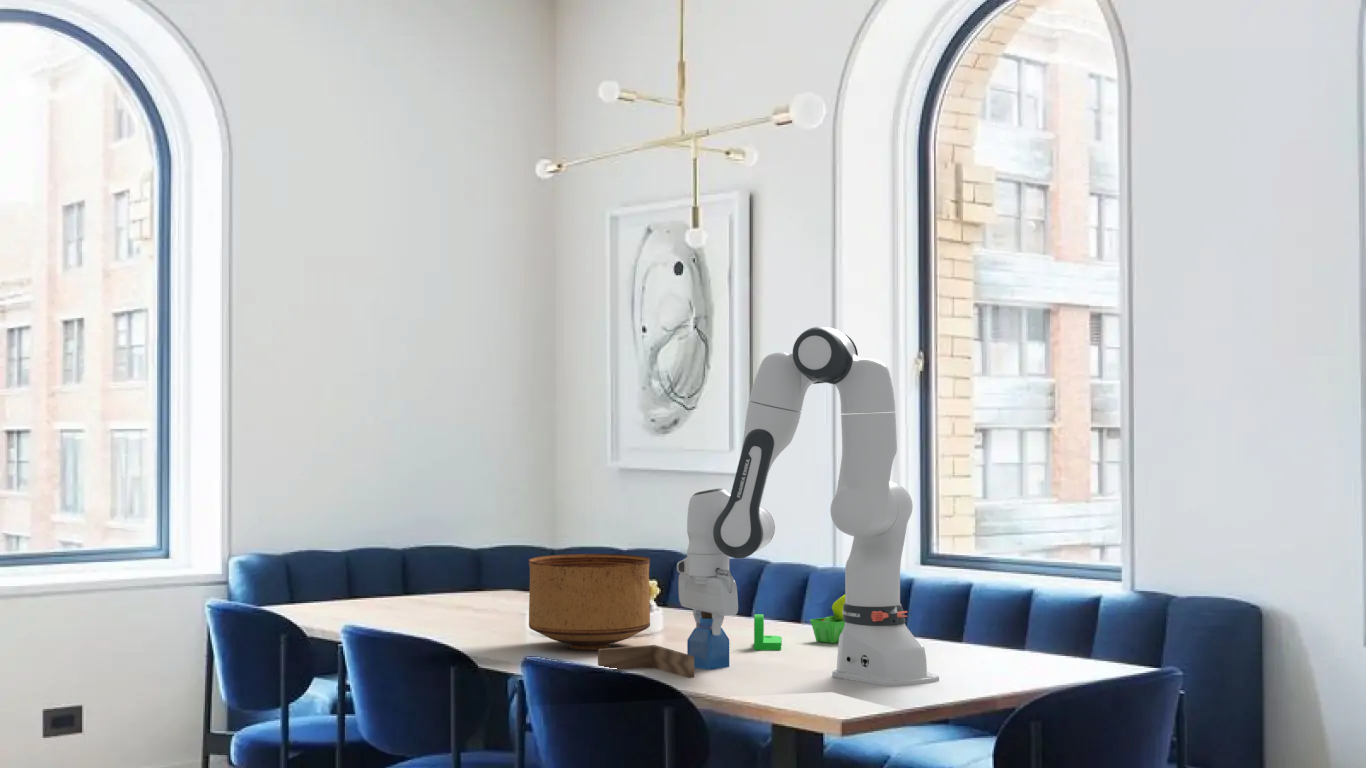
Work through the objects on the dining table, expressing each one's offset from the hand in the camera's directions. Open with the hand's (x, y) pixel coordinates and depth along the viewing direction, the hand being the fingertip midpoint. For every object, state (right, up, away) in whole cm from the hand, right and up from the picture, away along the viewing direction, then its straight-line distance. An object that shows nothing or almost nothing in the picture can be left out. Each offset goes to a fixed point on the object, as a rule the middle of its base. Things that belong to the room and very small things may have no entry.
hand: (708, 633), depth 349 cm
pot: (-27, -8, +32) cm, 43 cm away
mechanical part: (+14, -8, +33) cm, 37 cm away
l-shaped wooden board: (-13, -8, -10) cm, 18 cm away
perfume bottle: (0, -8, 0) cm, 8 cm away
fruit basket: (+31, -8, +43) cm, 53 cm away
